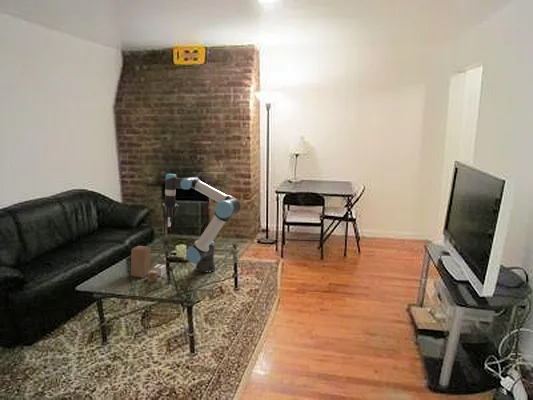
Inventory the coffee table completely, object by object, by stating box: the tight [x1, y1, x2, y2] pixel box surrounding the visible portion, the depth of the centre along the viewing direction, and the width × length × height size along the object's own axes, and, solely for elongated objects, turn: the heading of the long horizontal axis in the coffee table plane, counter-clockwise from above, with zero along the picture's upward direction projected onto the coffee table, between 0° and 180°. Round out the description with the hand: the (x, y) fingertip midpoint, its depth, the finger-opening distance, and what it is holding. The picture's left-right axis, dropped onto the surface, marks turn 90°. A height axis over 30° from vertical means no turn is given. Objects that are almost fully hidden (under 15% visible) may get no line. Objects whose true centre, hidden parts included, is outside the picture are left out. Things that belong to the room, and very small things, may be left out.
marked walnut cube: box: [147, 269, 159, 283], centre depth 255 cm, size 6×6×6 cm
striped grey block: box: [153, 263, 167, 277], centre depth 267 cm, size 6×7×6 cm
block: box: [130, 245, 152, 279], centre depth 261 cm, size 10×10×20 cm
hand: (169, 226), depth 275 cm, fingers closed
